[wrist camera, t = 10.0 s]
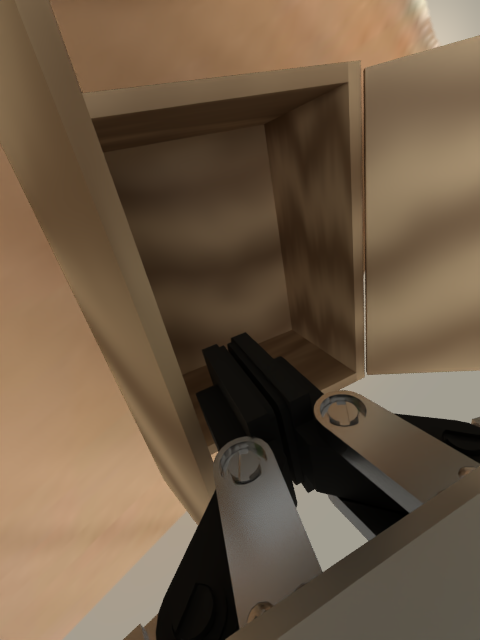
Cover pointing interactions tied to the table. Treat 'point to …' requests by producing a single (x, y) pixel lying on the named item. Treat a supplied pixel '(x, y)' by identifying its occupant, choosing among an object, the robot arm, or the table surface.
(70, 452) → the table surface
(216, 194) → the carton
